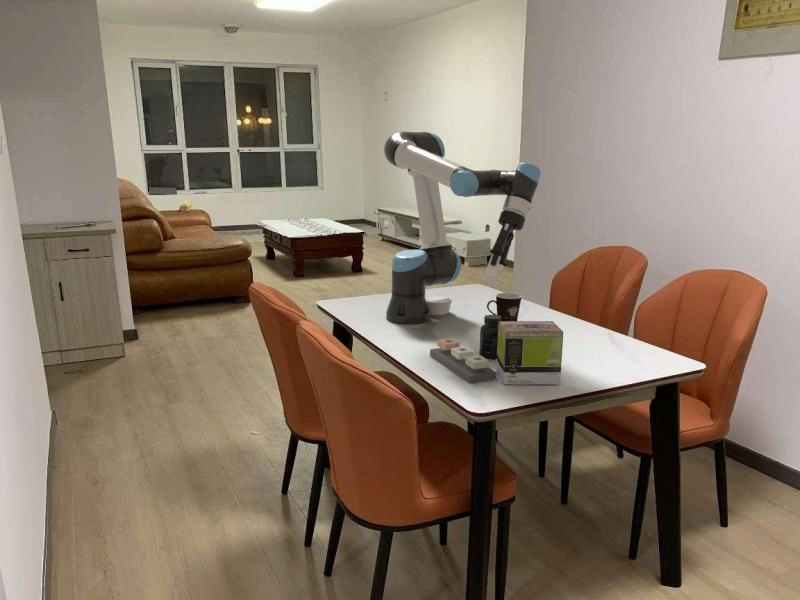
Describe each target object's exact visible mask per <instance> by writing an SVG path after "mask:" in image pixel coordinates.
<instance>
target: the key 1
mask: <svg viewBox="0 0 800 600" xmlns="http://www.w3.org/2000/svg"><path fill="white" fill-rule="evenodd" d="M437 347H438V348H442V349H443V350H445V351H446V350H451V348H457V347H460V342H459V341H457V340H455V339H454V338H453V337H450V338H443V339H442V338H441V339H437Z"/></svg>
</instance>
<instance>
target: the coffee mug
mask: <svg viewBox="0 0 800 600" xmlns="http://www.w3.org/2000/svg"><path fill="white" fill-rule="evenodd" d="M521 302H522V295H521V294H519V293H513V292H500V293H496V294H495V300H494V299H492V300H489V301H488V302H487V304H486V309H487V310H488V312H489V313H490V314H491V315H498V316H500V317H501V321H518V318H519V313H520V308H521ZM491 303H495V304H496V313H495V312H493V311H492V310H491V309H490V307H489V306H490V304H491Z"/></svg>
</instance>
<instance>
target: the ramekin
mask: <svg viewBox="0 0 800 600" xmlns="http://www.w3.org/2000/svg"><path fill="white" fill-rule="evenodd" d="M425 299H426V302H427V306H428V309H429V313H430V314H429V316H435V315H440V316H446V315H447V314H448V313H449V312H450V309H451V304H452V298H451V297H449V296H446V295H442V294H440V295H438V294H428V295H425ZM445 314H446V315H445Z"/></svg>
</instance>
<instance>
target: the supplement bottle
mask: <svg viewBox="0 0 800 600" xmlns="http://www.w3.org/2000/svg"><path fill="white" fill-rule="evenodd" d="M483 320H484V321H483V324H482V325H481V326H480V332H479V333H480V334H479V349H478V350H479V356H480V355H481V356H482V357H484V358H486V359H487V360H489V359H491V360H490V361H497V360H496V359H497V346H498V325H499V321H501V317H500V316H498V315H497V314H496V315H493V314H487V315H485V316H484V318H483Z"/></svg>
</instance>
